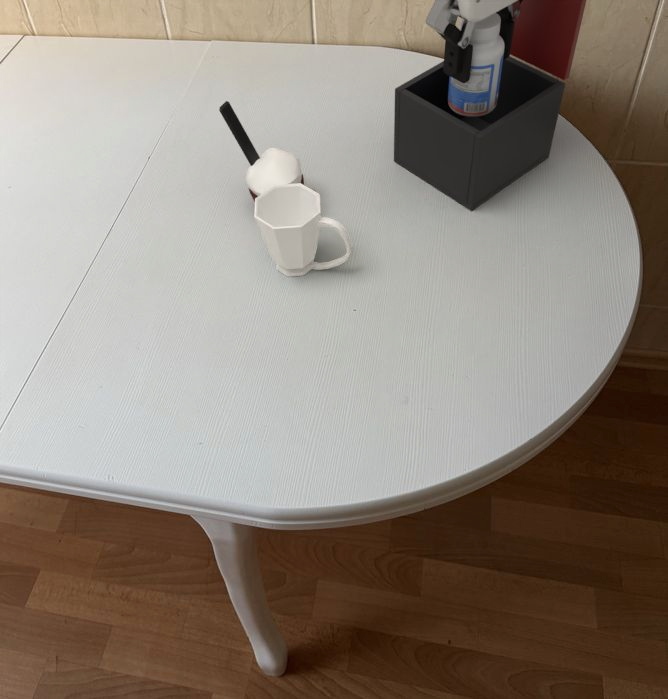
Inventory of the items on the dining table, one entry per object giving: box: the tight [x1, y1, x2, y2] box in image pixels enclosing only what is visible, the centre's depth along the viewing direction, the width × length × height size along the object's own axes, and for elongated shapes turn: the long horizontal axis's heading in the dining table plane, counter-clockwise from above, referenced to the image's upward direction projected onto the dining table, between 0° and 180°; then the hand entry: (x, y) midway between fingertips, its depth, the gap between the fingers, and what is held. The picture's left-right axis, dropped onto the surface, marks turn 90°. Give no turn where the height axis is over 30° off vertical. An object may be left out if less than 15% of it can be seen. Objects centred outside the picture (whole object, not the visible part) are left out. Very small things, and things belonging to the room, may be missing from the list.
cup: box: [253, 183, 353, 278], centre depth 72 cm, size 7×10×8 cm
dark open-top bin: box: [393, 55, 566, 212], centre depth 81 cm, size 14×13×10 cm
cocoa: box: [218, 100, 305, 202], centre depth 77 cm, size 10×6×12 cm, turn 38°
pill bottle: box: [448, 13, 505, 117], centre depth 74 cm, size 6×5×10 cm
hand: (476, 63), depth 74 cm, fingers closed on pill bottle, 5 cm apart
